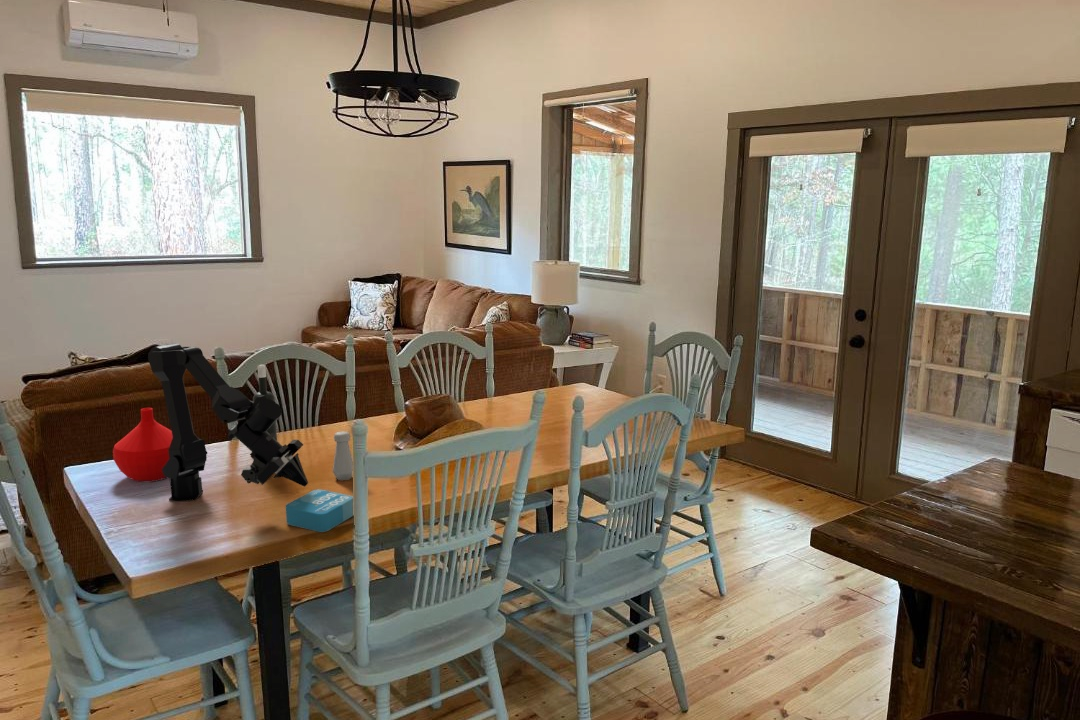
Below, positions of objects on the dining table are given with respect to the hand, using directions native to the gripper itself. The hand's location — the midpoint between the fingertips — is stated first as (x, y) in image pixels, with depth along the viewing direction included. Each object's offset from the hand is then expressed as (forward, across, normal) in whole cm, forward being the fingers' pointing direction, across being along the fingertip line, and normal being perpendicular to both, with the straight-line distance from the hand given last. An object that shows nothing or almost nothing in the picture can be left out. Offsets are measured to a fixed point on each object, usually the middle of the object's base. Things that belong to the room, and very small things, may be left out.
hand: (306, 484), depth 195 cm
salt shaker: (+7, -27, -4) cm, 28 cm away
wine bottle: (-10, -34, -21) cm, 42 cm away
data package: (+2, +1, -5) cm, 5 cm away
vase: (-31, -27, -42) cm, 59 cm away
